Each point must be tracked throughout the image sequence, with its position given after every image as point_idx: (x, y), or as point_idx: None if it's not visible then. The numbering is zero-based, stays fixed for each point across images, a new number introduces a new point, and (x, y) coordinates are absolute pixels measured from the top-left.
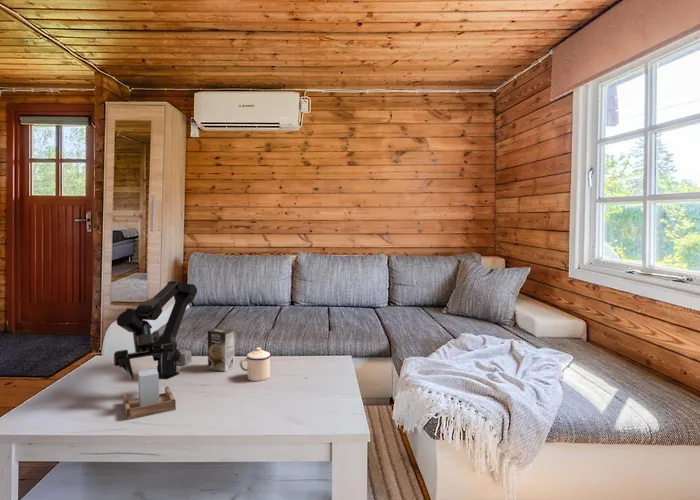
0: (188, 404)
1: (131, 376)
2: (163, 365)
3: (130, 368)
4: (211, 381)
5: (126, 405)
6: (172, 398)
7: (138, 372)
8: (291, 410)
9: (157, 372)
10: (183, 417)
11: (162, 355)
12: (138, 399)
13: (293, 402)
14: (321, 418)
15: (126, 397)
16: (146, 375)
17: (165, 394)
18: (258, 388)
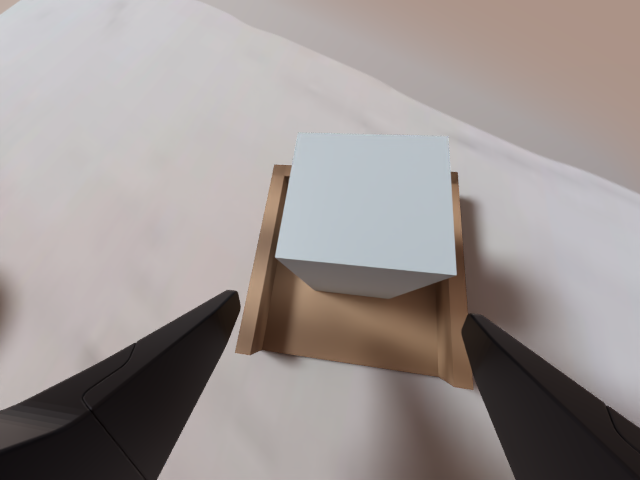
0: (235, 201)
1: (497, 327)
2: (177, 326)
3: (578, 404)
4: (44, 386)
5: (457, 221)
6: (276, 189)
7: (453, 257)
8: (85, 47)
9: (296, 161)
10: (285, 124)
11: (10, 449)
12: (384, 348)
13: (48, 75)
14: (82, 3)
15: (455, 327)
16: (391, 137)
17: (267, 329)
18: (15, 197)
